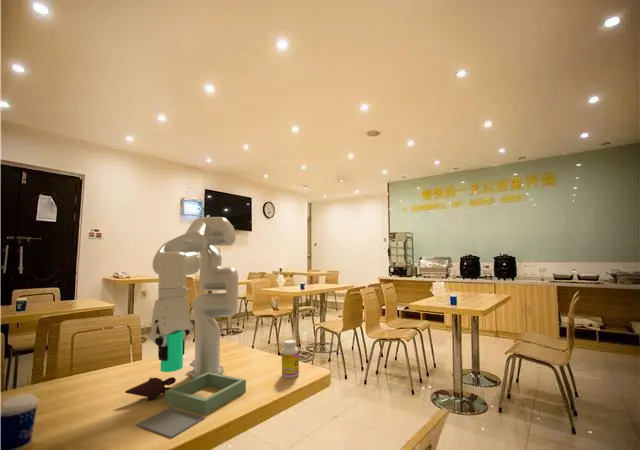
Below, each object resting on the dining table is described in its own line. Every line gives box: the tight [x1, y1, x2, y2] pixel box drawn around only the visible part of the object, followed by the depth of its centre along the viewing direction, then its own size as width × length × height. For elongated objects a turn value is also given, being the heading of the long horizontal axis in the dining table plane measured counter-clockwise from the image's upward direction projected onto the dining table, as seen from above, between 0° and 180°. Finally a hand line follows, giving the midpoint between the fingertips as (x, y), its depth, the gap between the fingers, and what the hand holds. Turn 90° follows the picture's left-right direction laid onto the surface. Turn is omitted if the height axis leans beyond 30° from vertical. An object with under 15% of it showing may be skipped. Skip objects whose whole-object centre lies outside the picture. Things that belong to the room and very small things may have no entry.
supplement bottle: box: [281, 339, 300, 379], centre depth 126 cm, size 7×7×13 cm
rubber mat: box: [135, 406, 206, 439], centre depth 93 cm, size 15×11×1 cm
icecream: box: [124, 376, 177, 401], centre depth 109 cm, size 7×7×15 cm
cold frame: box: [164, 372, 247, 416], centre depth 108 cm, size 18×18×4 cm
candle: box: [160, 330, 184, 373], centre depth 94 cm, size 6×6×12 cm
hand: (171, 356), depth 94 cm, fingers closed on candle, 4 cm apart
